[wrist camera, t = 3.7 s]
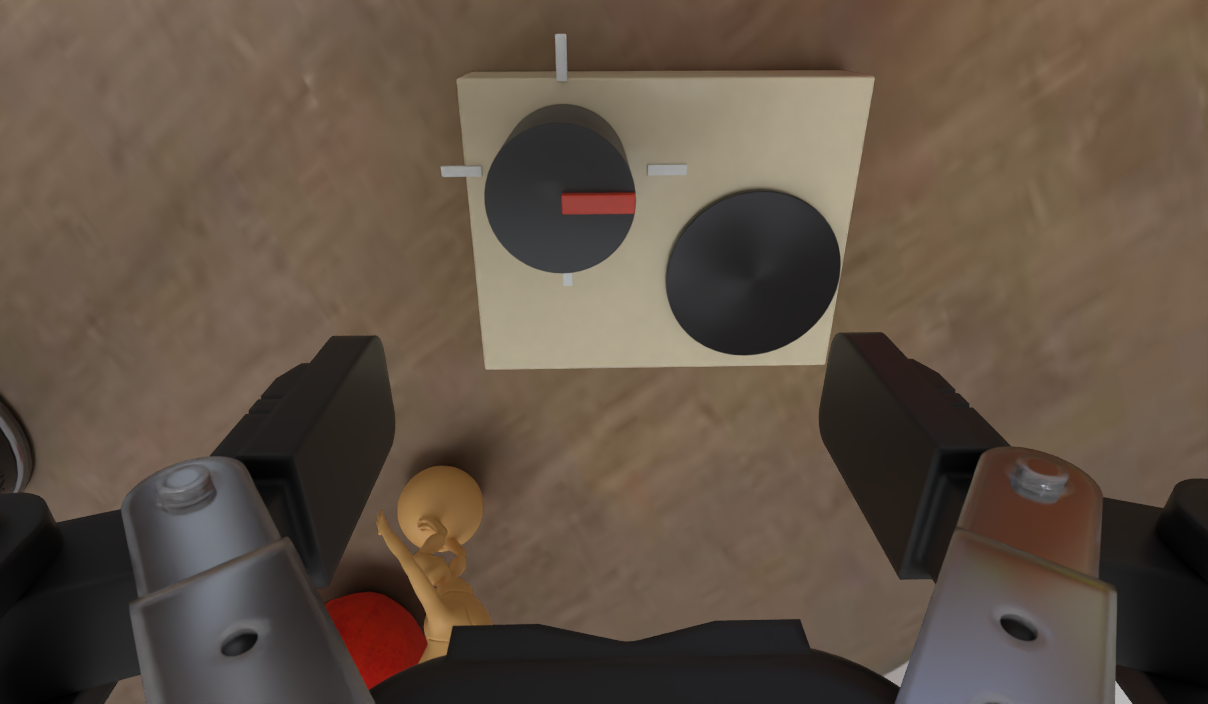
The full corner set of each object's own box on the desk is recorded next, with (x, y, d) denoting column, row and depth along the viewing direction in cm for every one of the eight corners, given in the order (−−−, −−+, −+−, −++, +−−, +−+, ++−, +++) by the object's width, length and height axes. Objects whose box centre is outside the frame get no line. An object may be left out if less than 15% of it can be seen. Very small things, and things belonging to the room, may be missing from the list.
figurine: (365, 438, 31) (252, 654, 21) (469, 385, 30) (406, 586, 19) (462, 549, 35) (408, 784, 24) (559, 506, 34) (548, 733, 23)
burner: (661, 352, 26) (662, 357, 26) (668, 188, 23) (670, 191, 23) (823, 350, 26) (826, 354, 26) (851, 187, 23) (855, 190, 23)
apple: (487, 606, 37) (464, 743, 30) (405, 687, 40) (367, 829, 33) (345, 533, 34) (283, 665, 27) (269, 626, 37) (196, 766, 30)
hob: (475, 338, 29) (464, 372, 26) (444, 32, 23) (425, 34, 21) (803, 333, 29) (826, 367, 27) (850, 31, 24) (886, 32, 21)
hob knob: (506, 231, 24) (489, 278, 19) (497, 104, 22) (475, 124, 17) (626, 230, 24) (635, 276, 20) (628, 103, 22) (638, 123, 18)
